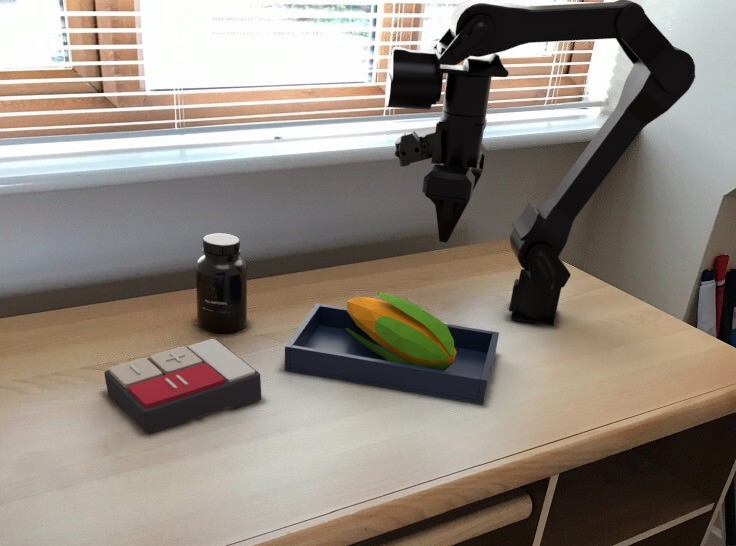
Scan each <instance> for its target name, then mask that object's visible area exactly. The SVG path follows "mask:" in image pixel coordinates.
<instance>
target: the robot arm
mask: <svg viewBox="0 0 736 546" xmlns="http://www.w3.org/2000/svg"><path fill="white" fill-rule="evenodd" d="M611 39H612V40H613V39H615V40H616V42H617V43H618V45H619V46H620V48H621V50H622V51H623V52H624V54H625V56H626V57H627V58H628V59H629V60H630V62H631V63H632V64H633V66H632V67H631V70H630V71H629V73H628V75H627V77H626V79H625V81H624V84H623V87H622V91H621V93H620V97H619V100H618V102H617V104H616V106H615V108H614V109H613V111H612V112H611V113H610V114H609V116H608V117H607V119H606V120H605V122H604V123H603V124H602V126H601V127H600V128H599V130H598V131H597V133H596V134H595V135H594V137H593V138H592V140H591V141H590V142H589V144H587V146H586V148H585V149H584V150H583V152H582V153H581V154H580V155H579V157H578V158H577V159H576V161H575V162H574V164H573V165H572V167H571V168H570V169H569V170H568V172H567V173H566V175H565V176H564V177H563V179H562V180H561V181H560V183H559V184H558V186H557V187H556V188H555V190H554V191H553V192H552V193H551V195H550V196H549V197H548V198H547V199H546V200H545V201H543V202H542V203H540V204H539V205H537V206H536V205H535V204H534V203H533V202H532V201H528V203H527V204H526V205H525V207H524V208H523V211H522V213H521V214H520V216H519V217H518V218H517V219H516V220H514V222H512V223H511V226H512V228H513V229H512V231H511V233H510V236H509V243H510V248H511V250H512V252H513V254H514V256H515V257H516V259H517V261H518V264H519V265H520V267H521V269H520V273H519V277H518V278H516V279H514V282H513V286H512V292H511V297H510V303H509V308H508V311H509V312H511V314H510V320H512V321H517V322H523V323H528V324H536V325H540V326H541V325H542V326H547V327H554V326H556V319H557V318H556V317H557V310H558V306H559V301H560V296H561V293H562V288H565V286H566V284H567V283H568V281H569V280H570V278H571V272H570V271H569V269H568V268H567V266H566V265H565V263H564V262H563V260H562V258H561V257H560V256H561V254H562V252H563V250H564V248H565V246H566V244H567V243H568V240H569V237H570V234H571V231H572V228H573V225H574V223H575V220H576V218H577V217H578V216H579V214H580V213H581V211H582V210H583V209H584V207H585V206H586V204H588V202H589V201H590V200H591V198H592V197H593V196H594V194H595V193H596V191H597V190H598V189H599V188H600V186H601V185H602V184H603V182H604V181H605V180H606V178H607V177H608V176H609V174H610V173H611V172H612V170H614V168H615V167H616V165H617V164H618V163H619V161H620V160H621V158H622V157H623V156H624V155H625V153H626V152H627V151H628V149H630V147H631V145H632V144H633V143H634V141H635V140H636V139H637V137H638V136H639V135H640V133H641V132H642V131H643V129H645V128H646V126H648V125H649V124H650V123H652V122H653V121H655V120H656V119H658V118H659V117H661V116H662V115H664V114H665V113H666V112H668V111H669V110H670V109H671V108H672V107H673V106H674V105H675V104H677V102H678V101H679V100H681V98H682V97H683V96H684V95H686V93H687V92H688V91H689V90H690V89H691V88H692V85H693V84H694V81H695V79H696V64H695V61H694V58H693V57H692V56H691V54H690V53H688V52H687V51H685V50H683V49H682V48H681V49H680V48H678V47H676V46H674V45H673V44H672V42H671V41H670V40H669V39H668V38H667V37H666V36H665V35H664V34H663V33H662V31H661V30H660V29H659V28H658V27H657V26H656V25H655V24H654V22H653V21H652V20H651V19H650V18H649V17H648V15H647V14H646V10H645V9H644V7H643V6H642V5H640V4H639V3H637V2H634V1H632V0H615V1H607V2H587V3H568V4H566V3H565V4H552V5H551V4H550V5H549V4H548V5H545V4H544V5H528V6H527V5H526V6H525V5H520V4H515V3H511V2H510V3H509V2H504V1H500V0H462V1H461V2H460V3H459V4H458V5H457V6H456V7H455V8H454V10H453V12H452V14H451V17H450V22H449V26H448V29H447V30H446V31H445V32H444V33H443V34H442V36H441V37H440V38H439V40H438V41H437V42H436V43H435V45H434V46H433V47H432V48H431V50H416V49H408V48H405V47H402V46H401V47H400V46H394V47H393V48H392V50H391V59H390V62H389V63H390V64H389V72H387V75H386V90H385V105H386V108H394V109H411V110H412V109H413V110H428V111H429V110H431V108H432V106H433V105H435V106H436V105H437V103H439V102H440V101H441V96H442V91H443V80H444V74H446V76H445V77H446V78H445V86H444V92H443V103H442V111H441V117H440V119H439V121H437V122H436V123H435V124H436V125H435V127H431V128H426V129H421V130H418V131H414V130H412V131H411V132H410V133H405V132H404V133H403V134H402V135H401V136H399V137H398V138H397V139H396V140H395V142H394V145H395V152H394V156H395V157H396V158H397V159H398V162H399V166H400V167H402V168H403V167H408V166H410V165H411V164H413V163H416V162H417V163H418V162H421V161H426V160H429V159H431V161H430V162H431V164H434V165H433V166H432V167H431V168H429V170H427V172H426V173H425V174H424V176H423V181H422V191H421V192H422V194H423V193H424V196H425V197H426V198H428V199H429V200H430V201H431V202H432V203H433V205H434V207H435V215H436V223H437V224H436V225H437V233H438V240H439V242H440V243H448V242H449V240H450V238H451V236H452V234H453V232H454V230H455V228H456V227H457V224H458V223H459V221H460V219H461V217H462V215H463V213H464V212H465V210H466V208H467V207H468V204H469V203H470V201H471V198H472V196H473V192H474V190H475V188H476V186H477V185H478V182H479V180H480V178H481V176H482V174H483V173H484V168H485V167H486V163H487V157H488V150H487V149H486V148H485V146H484V144H483V138H484V132H485V129H487V128H486V127H487V121H488V119H487V112H488V111H487V110H488V105H489V98H490V92H491V91H490V90H491V83H492V79H493V77H496V78H507V77H509V74H510V73H509V71H508V69H506V68H505V65H504V64H503V63H502V61H501V58H500V55H499V54H498V53H502V52H505V51H508V50H511V49H513V48H516V47H518V46H523V45H526V44H527V45H528V44H531V43H533V44H534V43H549V42H550V43H551V42H572V41H592V40H611ZM485 56H489V57H488V58H486V59H485V58H482V57H485ZM471 57H475V58H471ZM462 62H463V63H462ZM460 63H462V64H460Z"/></svg>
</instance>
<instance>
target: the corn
mask: <svg viewBox="0 0 736 546" xmlns="http://www.w3.org/2000/svg"><path fill="white" fill-rule="evenodd" d="M376 296H377V297H379V298H375V297H374V298H373V297H365V296H356V297H353V298H351V299H349V300H347V301H346V308H347V312H348V313H349V315H350V316H351V318H352V319H353V320H354V322H355V323H356V325H357V326H358V327H359V328H361V329H362V330H363V331H364V332H365V333H366V334H368V335H369V336H370V337H371V338H372V339H373V340H375V341H376V342H377V343H379V344H380V345H382V346H383V347H385V348H386V349H388V350H389V351H391V352H392V353H394V354H396V355H397V356H396V355H394V354H392V353H390V352H388V351H386V350H385V349H383V348H381V347H379V346H377V345H375V344H373V343H371V342H370V341H368V340H366V339H364V338H363V337H361V336H359V335H357V334H356V333H354V332H353V331H352V330H350V329H349V328H346V330H347V331H348V332H349V333H350V334H351V335H353V336H354V337H355V338H356V339H357V340H358V341H360V342H361V343H362V344H364V345H365V346H367V347H368V348H370V349H371V350H373V351H374V352H376V353H377V354H379V355H380V356H382V357H383V358H385V359H386V360H388V361H390V362H396V363H402V364H408V365H414V366H420V367H426V368H432V369H438V370H446V369H447V368H449V367H450V366H451V365H452V364H453V362H454V361H455V356H456V353H457V352H456V350H455V347H454V340H453V338H452V336H451V334H450V331H449V329H448V327H447V325H446V324H447V323H445V322H443V321H442V320H440V319H439V318H438V317H436V316H434V315H432V314H431V313H430V312H428V311H426V310H425V309H423V308H422V307H421V306H419V305H418V304H416V303H413V302H411V301H410V300H407V299H405V298H402V297H400V296H396V295H392V294H389V293H384V292H379V291H378V292H376ZM398 356H399V357H398Z"/></svg>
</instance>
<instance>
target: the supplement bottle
mask: <svg viewBox="0 0 736 546" xmlns="http://www.w3.org/2000/svg"><path fill="white" fill-rule="evenodd" d="M202 253H203V255H202V256H200V257H199V259H198V260H197V262H196V264H195V279H196V280H195V282H196V283H195V285H196V318H197V323H198V324H199V326H200V328H202V329H204V330H206V331H208V332H211V333H215V334H230V333H236V332H239V331H241V330H242V329H243V328H244V327H245V326H246V325H247V320H248V319H247V317H248V316H247V315H248V314H247V313H248V312H247V311H248V266H247V265H248V264H247V263H246V261H245V260H244V258H242V257H241V256H240V255H241V241H240V238H238V237H237V236H236V235H233V234H229V233H210V234H207V235H205V236H204V237H203V238H202Z"/></svg>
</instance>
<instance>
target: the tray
mask: <svg viewBox="0 0 736 546" xmlns="http://www.w3.org/2000/svg"><path fill="white" fill-rule="evenodd" d="M445 324H446V325H447V327H448V329H449V331H450V334H451V336H452V338H453V340H454V347H455V350H456V352H457V353H456V356H455V361H454V362H453V364H452V365H451V366H450V367H449V368H447V369H446V370H438V369H432V368H426V367H420V366H414V365H408V364H402V363H396V362H390V361H388V360H386V359H385V358H383V357H382V356H380V355H379V354H377V353H376V352H374V351H373V350H371V349H370V348H368V347H367V346H365V345H364V344H362V343H361V342H360V341H358V340H357V339H356V338H355V337H354V336H353V335H351V334H350V333H349V332H348V331H347V330H346V328H349V329H350V330H352V331H353V332H354V333H356V334H357V335H359V336H361V337H363V338H364V339H366V340H368V341H370V342H371V343H373V344H375V345H377V346H379V347H381V348H383V349H385V350H386V351H388V352H390V353H392V352H391V351H389V350H388V349H386V348H385V347H383V346H382V345H380V344H379V343H377V342H376V341H375V340H373V339H372V338H371V337H370V336H369V335H368V334H366V333H365V332H364V331H363V330H362V329H361V328H359V327H358V326H357V325H356V323H355V322H354V320H353V319H352V318H351V316H350V315H349V313H348V312H347V307H343V306H336V305H330V304H324V303H317V302H316V303H315V304H314V305H313V307H312V308H311V309H310V311H309V312H308V314H307V315H306V316H305V318H304V319H303V321H302V322H301V323H300V325H299V326H298V327H297V329H296V331H295V332H294V333H293V334H292V336H291V337H290V339H289V340H288V341H287V343H286V344H285V346H284V368H283V369H284V371H285V372H290V373H296V374H302V375H303V374H304V375H308V376H312V377H313V376H314V377H319V378H326V379H331V380H335V381H342V382H348V383H353V384H354V383H355V384H360V385H365V386H370V387H375V388H376V387H378V388H381V389H382V388H383V389H387V390H388V389H389V390H394V391H400V392H405V393H411V394H412V393H413V394H416V395H417V394H418V395H423V396H429V397H434V398H440V399H446V400H451V401H458V402H464V403H470V404H474V405H475V404H476V405H479V406H480V405H481V406H483V405H484V402H485V398H486V394H487V390H488V386H489V381H490V377H491V373H492V369H493V365H494V361H495V357H496V352H497V347H498V341H499V335H500V332H499V331H492V330H486V329H481V328H474V327H468V326H461V325H456V324H450V323H445ZM392 354H394V353H392ZM394 355H396V354H394ZM396 356H397V355H396ZM398 357H399V356H398Z"/></svg>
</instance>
